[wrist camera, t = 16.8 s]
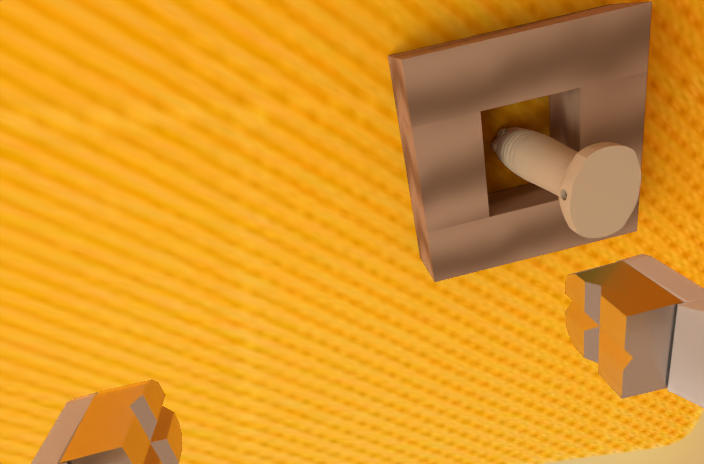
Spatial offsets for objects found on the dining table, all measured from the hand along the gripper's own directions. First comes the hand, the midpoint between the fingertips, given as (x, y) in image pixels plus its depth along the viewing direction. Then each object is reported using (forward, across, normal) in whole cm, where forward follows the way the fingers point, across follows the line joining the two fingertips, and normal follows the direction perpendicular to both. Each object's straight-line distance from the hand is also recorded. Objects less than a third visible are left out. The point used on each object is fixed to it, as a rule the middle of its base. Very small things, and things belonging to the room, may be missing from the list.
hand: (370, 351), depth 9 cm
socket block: (+34, -18, +8) cm, 39 cm away
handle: (+34, -18, +8) cm, 39 cm away
